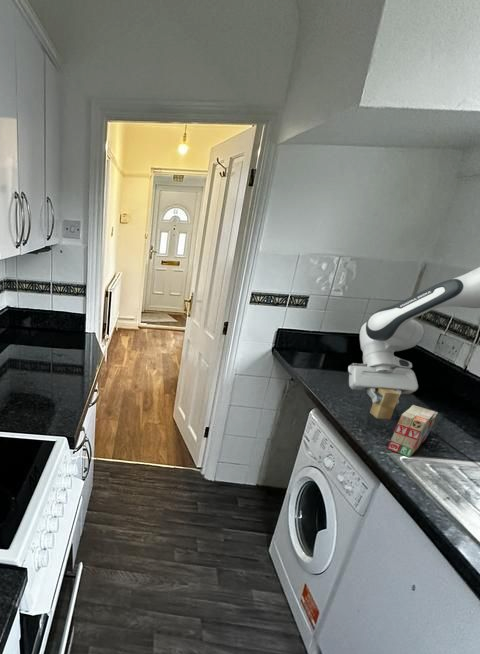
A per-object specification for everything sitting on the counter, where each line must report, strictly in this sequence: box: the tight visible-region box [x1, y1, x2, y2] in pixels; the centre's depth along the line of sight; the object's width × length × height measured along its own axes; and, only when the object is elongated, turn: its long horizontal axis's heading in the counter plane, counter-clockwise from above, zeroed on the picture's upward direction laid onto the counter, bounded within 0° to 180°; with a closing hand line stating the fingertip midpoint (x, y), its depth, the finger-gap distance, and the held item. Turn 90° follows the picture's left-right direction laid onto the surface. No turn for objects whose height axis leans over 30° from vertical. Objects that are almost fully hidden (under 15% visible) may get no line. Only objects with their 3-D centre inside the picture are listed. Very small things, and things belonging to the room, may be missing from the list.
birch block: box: [369, 388, 401, 420], centre depth 135 cm, size 4×4×9 cm
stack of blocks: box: [386, 404, 439, 458], centre depth 132 cm, size 21×6×12 cm, turn 131°
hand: (385, 403), depth 134 cm, fingers closed on birch block, 4 cm apart
